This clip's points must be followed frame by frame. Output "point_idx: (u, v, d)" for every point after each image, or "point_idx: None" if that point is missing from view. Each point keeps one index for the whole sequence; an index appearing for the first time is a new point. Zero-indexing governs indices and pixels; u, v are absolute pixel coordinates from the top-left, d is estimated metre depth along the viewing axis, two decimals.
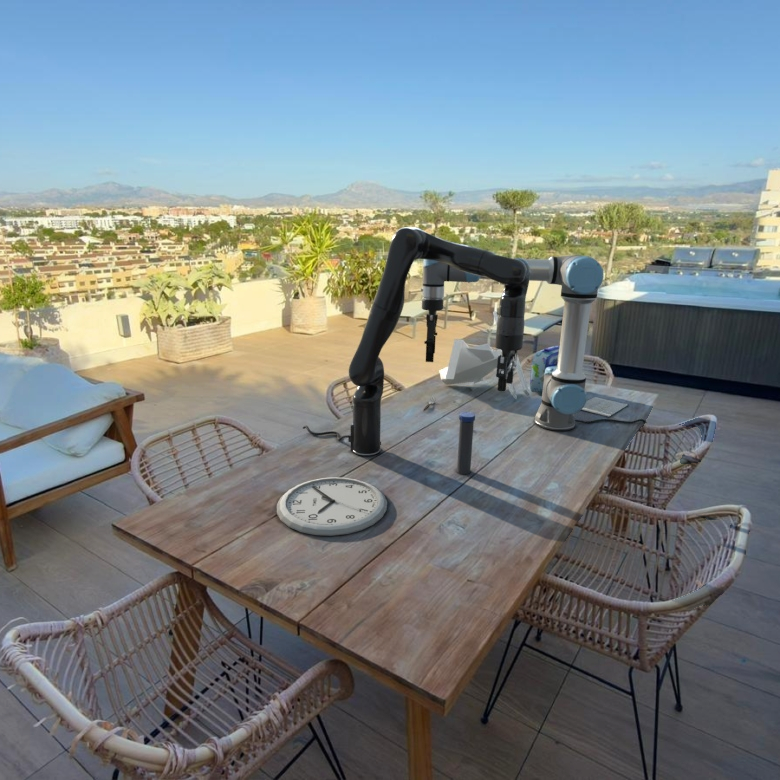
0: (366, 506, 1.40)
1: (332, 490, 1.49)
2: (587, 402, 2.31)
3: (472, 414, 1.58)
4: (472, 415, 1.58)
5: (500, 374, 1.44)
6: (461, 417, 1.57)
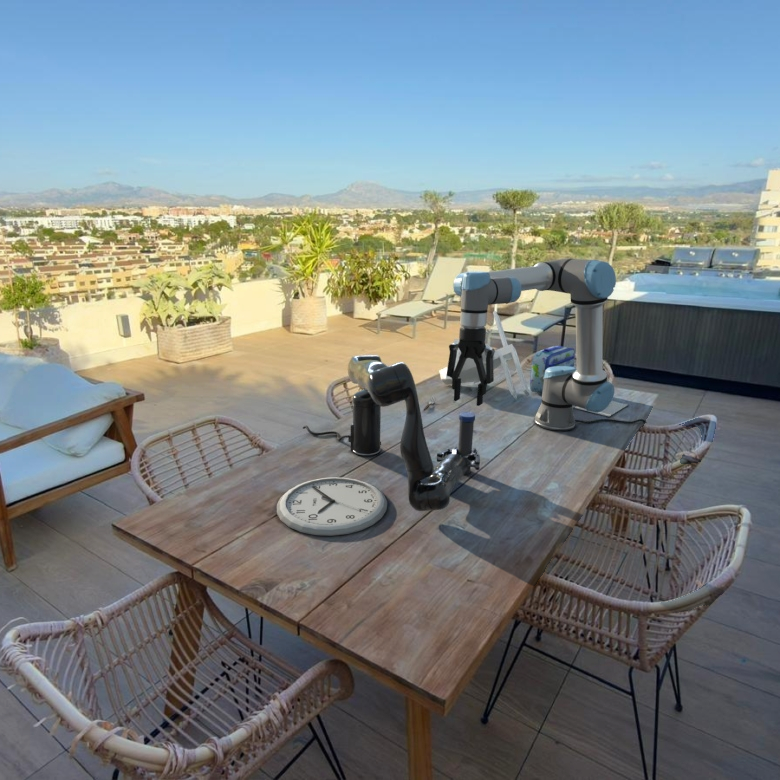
0: (366, 506, 1.40)
1: (332, 490, 1.49)
2: None
3: (472, 414, 1.58)
4: (472, 415, 1.58)
5: None
6: (461, 417, 1.57)
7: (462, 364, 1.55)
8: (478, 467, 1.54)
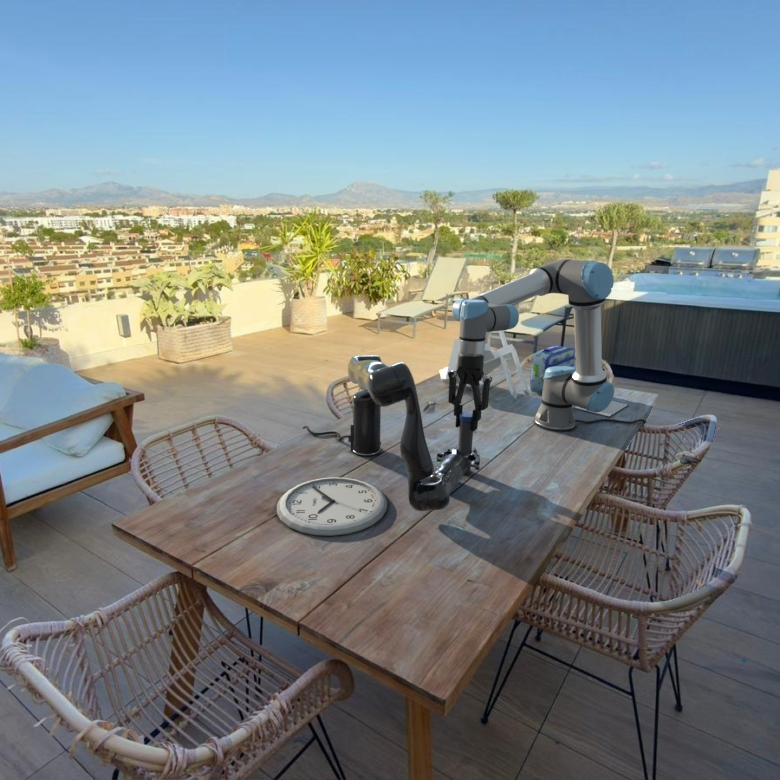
0: (366, 506, 1.40)
1: (332, 490, 1.49)
2: None
3: None
4: None
5: None
6: (461, 417, 1.57)
7: (462, 390, 1.57)
8: (478, 467, 1.54)
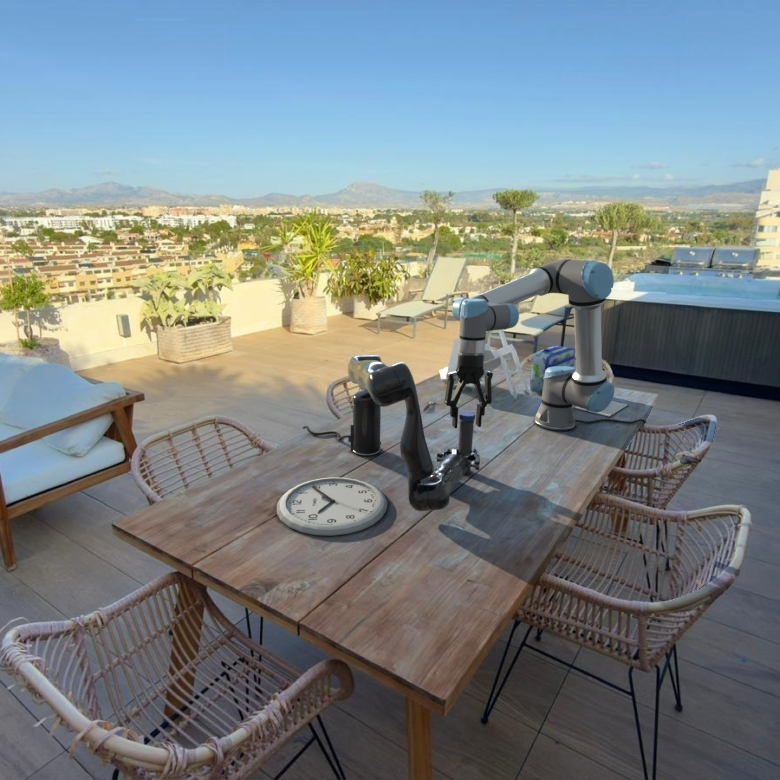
0: (366, 506, 1.40)
1: (332, 490, 1.49)
2: None
3: (465, 411, 1.60)
4: (467, 411, 1.60)
5: None
6: (473, 416, 1.57)
7: None
8: (478, 467, 1.54)
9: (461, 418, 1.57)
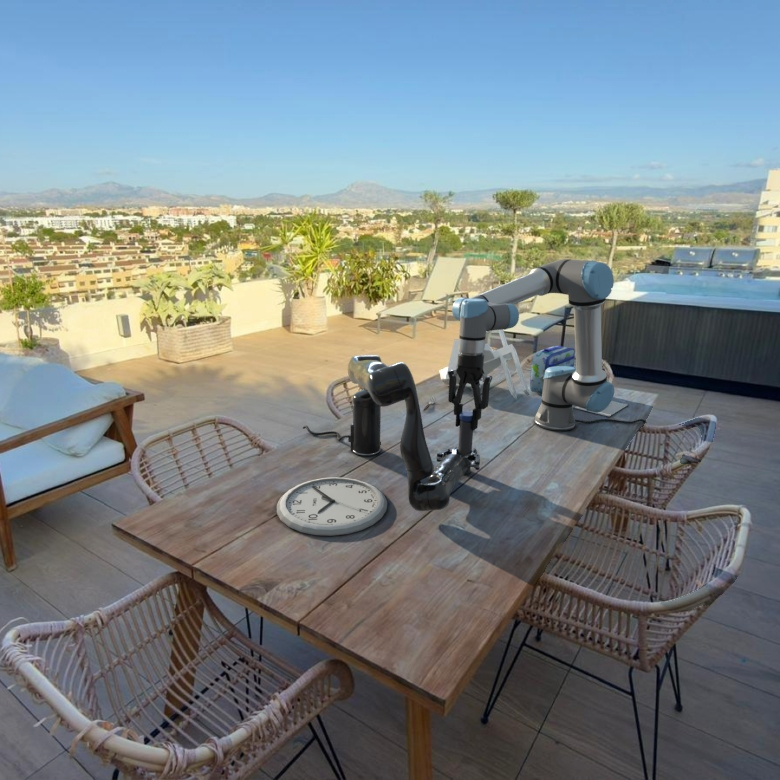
0: (366, 506, 1.40)
1: (332, 490, 1.49)
2: None
3: (465, 411, 1.60)
4: (467, 411, 1.60)
5: None
6: None
7: (462, 390, 1.57)
8: (478, 467, 1.54)
9: (461, 418, 1.57)
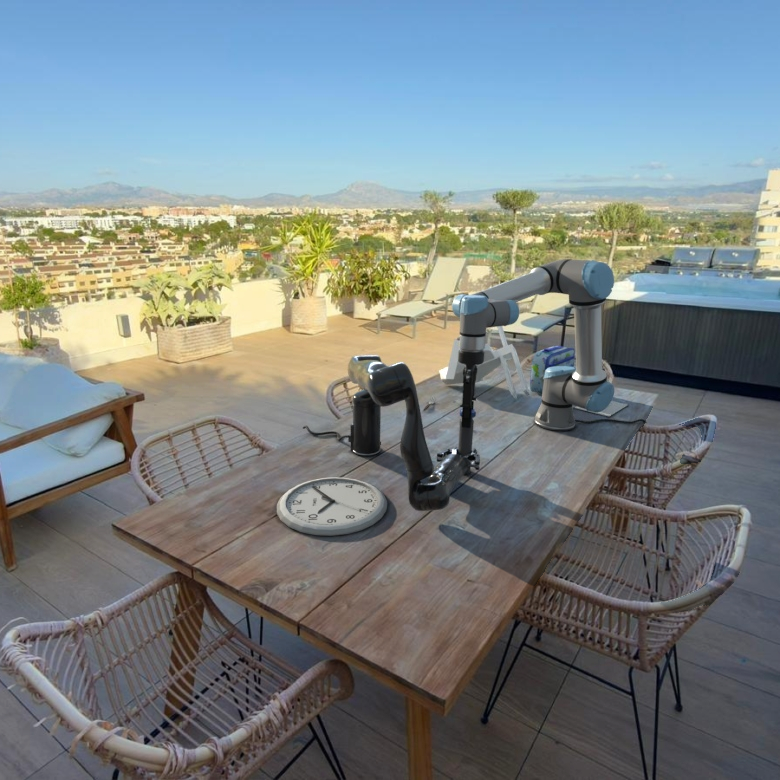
0: (366, 506, 1.40)
1: (332, 490, 1.49)
2: None
3: None
4: None
5: None
6: None
7: None
8: (478, 467, 1.54)
9: (474, 415, 1.57)
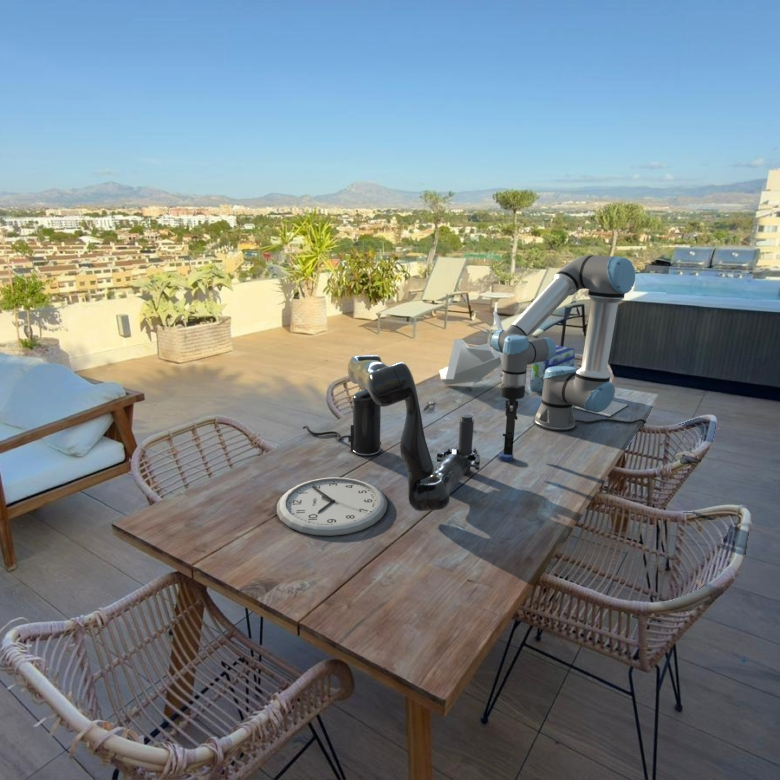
0: (366, 506, 1.40)
1: (332, 490, 1.49)
2: None
3: (502, 455, 1.72)
4: (501, 454, 1.73)
5: None
6: None
7: None
8: (478, 467, 1.54)
9: (512, 459, 1.72)
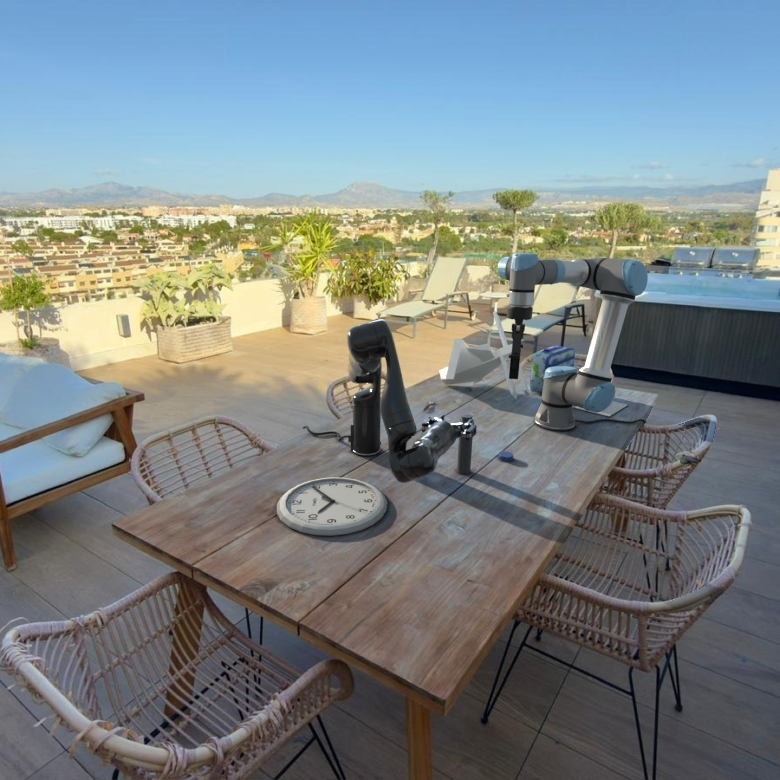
0: (366, 506, 1.40)
1: (332, 490, 1.49)
2: None
3: (502, 455, 1.72)
4: (501, 454, 1.73)
5: None
6: None
7: None
8: (468, 437, 1.37)
9: (512, 459, 1.72)
